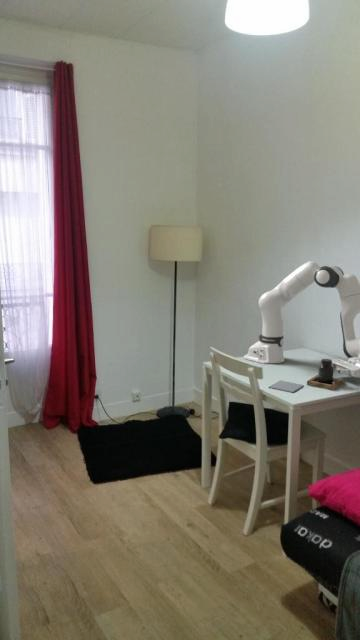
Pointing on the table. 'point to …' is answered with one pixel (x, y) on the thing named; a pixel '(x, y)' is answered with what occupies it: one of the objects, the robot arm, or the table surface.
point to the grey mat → (286, 386)
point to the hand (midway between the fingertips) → (332, 369)
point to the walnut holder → (336, 384)
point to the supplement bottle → (326, 372)
